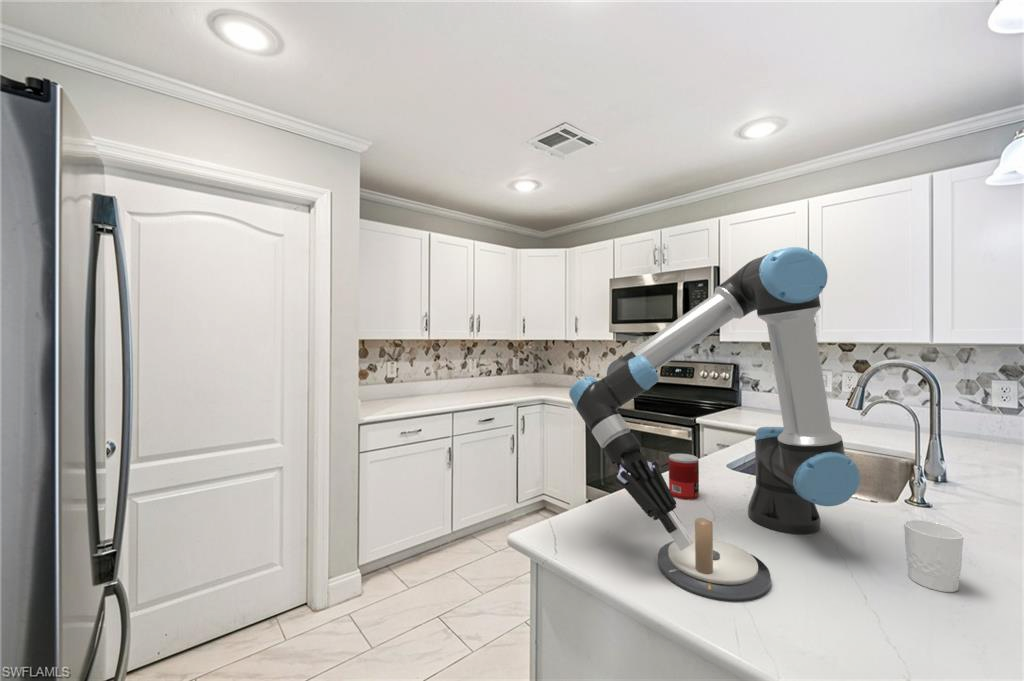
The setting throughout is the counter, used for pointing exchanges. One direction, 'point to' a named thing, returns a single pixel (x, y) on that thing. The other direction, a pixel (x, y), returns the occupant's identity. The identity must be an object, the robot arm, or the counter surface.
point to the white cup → (933, 554)
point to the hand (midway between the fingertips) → (687, 546)
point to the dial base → (713, 590)
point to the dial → (713, 558)
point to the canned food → (684, 476)
